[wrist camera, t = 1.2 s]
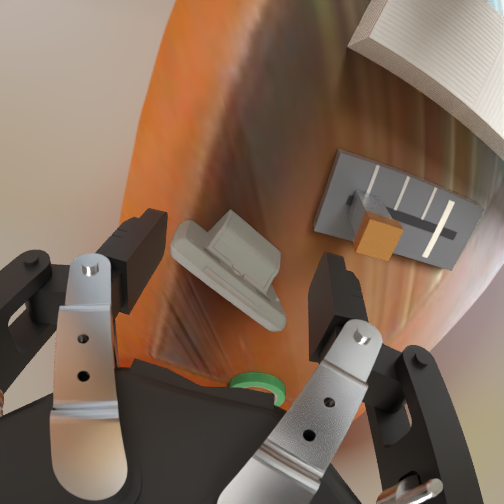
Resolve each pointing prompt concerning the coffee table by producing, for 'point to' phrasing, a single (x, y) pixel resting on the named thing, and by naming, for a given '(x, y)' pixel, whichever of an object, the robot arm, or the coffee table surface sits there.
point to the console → (399, 209)
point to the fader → (373, 226)
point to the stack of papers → (443, 56)
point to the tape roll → (261, 384)
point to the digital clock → (233, 265)
